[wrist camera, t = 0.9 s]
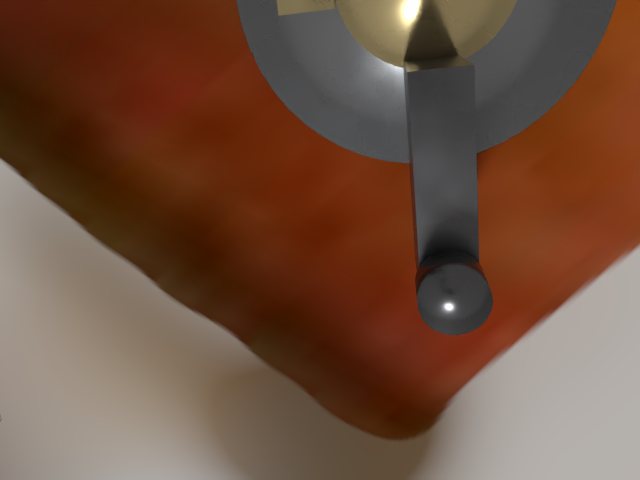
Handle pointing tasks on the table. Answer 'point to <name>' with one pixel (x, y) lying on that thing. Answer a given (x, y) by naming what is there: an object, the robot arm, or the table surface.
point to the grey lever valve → (435, 136)
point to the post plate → (388, 80)
